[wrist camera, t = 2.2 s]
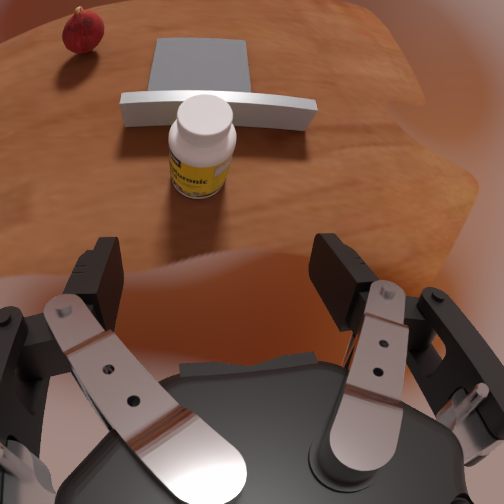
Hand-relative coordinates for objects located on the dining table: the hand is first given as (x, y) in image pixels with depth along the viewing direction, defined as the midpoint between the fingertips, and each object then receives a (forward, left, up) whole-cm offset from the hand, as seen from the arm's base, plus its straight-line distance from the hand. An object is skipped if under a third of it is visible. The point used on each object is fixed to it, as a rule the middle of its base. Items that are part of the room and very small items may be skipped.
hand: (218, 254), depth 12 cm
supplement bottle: (0, +11, -15) cm, 19 cm away
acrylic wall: (+2, +18, -15) cm, 24 cm away
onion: (-16, +32, -15) cm, 39 cm away
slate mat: (0, +27, -15) cm, 31 cm away
